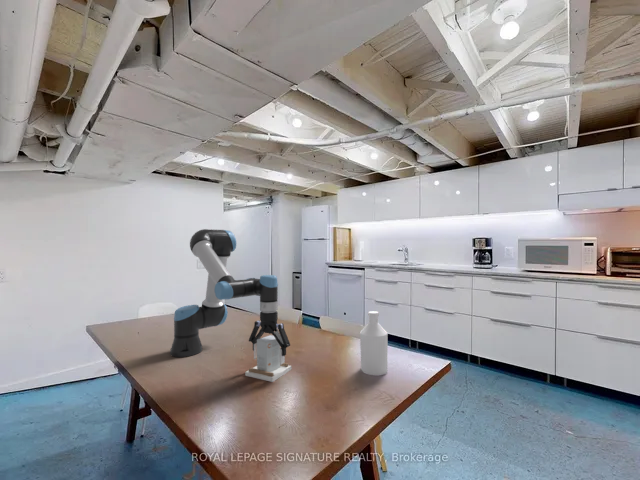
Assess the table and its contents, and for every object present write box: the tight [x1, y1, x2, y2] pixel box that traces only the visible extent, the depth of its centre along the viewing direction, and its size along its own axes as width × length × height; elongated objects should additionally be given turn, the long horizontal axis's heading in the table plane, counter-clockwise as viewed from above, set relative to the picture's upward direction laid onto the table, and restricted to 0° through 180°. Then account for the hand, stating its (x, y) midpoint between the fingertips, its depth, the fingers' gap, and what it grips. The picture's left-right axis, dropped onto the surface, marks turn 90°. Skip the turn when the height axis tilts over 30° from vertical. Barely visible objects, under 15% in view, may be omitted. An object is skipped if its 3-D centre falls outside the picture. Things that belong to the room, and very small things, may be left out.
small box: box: [256, 334, 281, 372], centre depth 128 cm, size 8×6×13 cm
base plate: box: [244, 362, 292, 383], centre depth 127 cm, size 14×14×3 cm
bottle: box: [359, 310, 389, 376], centre depth 130 cm, size 12×12×25 cm
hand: (269, 360), depth 128 cm, fingers open, 13 cm apart
